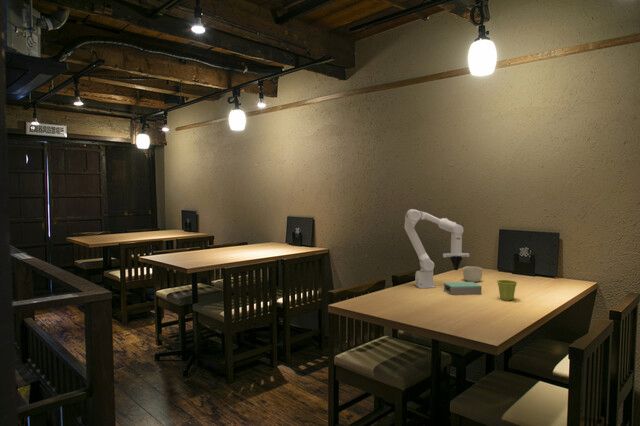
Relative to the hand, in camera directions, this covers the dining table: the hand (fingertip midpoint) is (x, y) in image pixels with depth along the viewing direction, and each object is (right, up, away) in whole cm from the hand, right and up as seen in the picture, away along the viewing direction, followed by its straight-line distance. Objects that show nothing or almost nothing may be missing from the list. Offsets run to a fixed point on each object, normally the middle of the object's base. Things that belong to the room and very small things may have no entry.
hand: (455, 269), depth 236 cm
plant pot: (+17, -11, -26) cm, 33 cm away
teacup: (+14, -9, +16) cm, 23 cm away
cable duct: (-1, -10, -13) cm, 16 cm away
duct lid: (-1, -7, -13) cm, 14 cm away
